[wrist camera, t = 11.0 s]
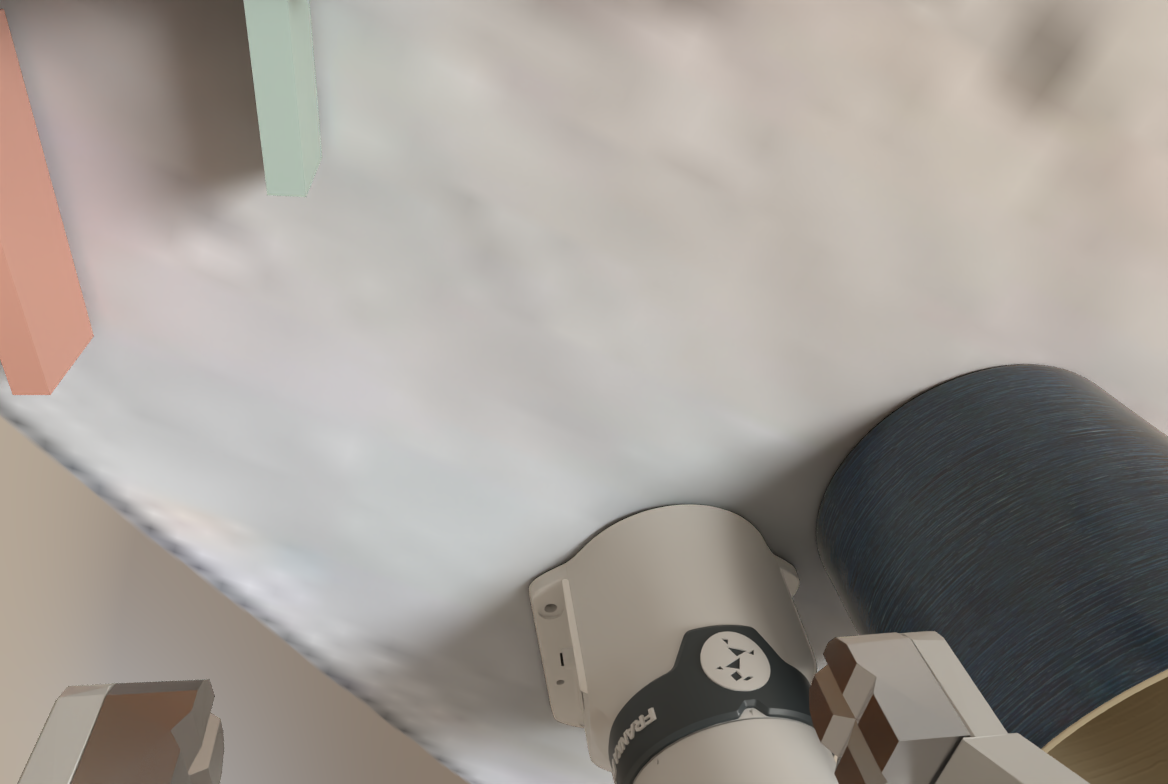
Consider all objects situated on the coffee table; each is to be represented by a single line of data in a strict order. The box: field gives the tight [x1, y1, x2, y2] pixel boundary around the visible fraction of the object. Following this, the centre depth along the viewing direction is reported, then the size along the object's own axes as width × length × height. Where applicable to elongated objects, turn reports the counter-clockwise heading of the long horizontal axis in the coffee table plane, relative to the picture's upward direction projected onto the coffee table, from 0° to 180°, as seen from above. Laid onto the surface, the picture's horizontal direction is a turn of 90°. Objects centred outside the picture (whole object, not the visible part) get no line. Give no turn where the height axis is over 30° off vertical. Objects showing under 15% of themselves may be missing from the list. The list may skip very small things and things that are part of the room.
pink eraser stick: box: [0, 9, 94, 395], centre depth 31 cm, size 14×1×5 cm, turn 174°
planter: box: [816, 364, 1168, 784], centre depth 45 cm, size 22×22×20 cm
